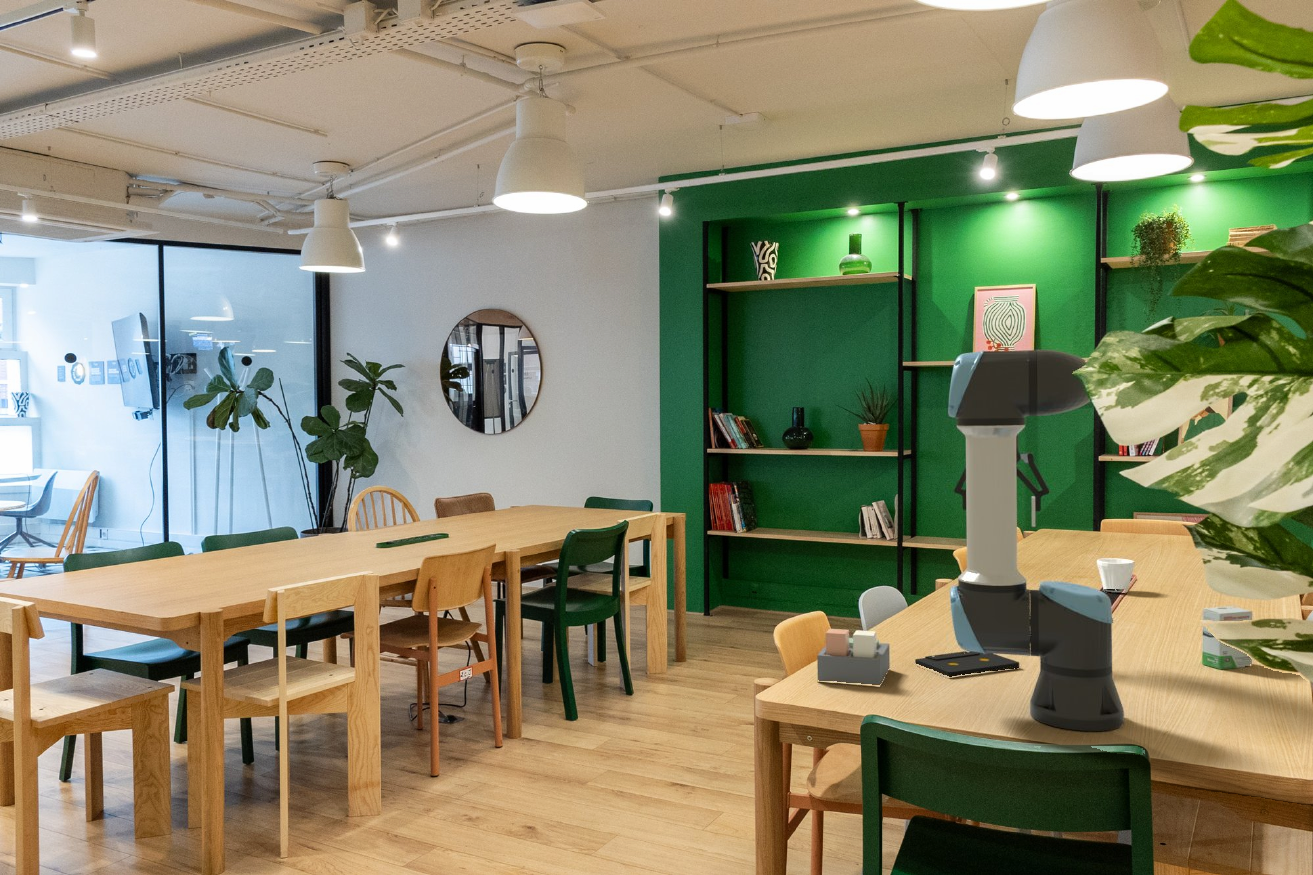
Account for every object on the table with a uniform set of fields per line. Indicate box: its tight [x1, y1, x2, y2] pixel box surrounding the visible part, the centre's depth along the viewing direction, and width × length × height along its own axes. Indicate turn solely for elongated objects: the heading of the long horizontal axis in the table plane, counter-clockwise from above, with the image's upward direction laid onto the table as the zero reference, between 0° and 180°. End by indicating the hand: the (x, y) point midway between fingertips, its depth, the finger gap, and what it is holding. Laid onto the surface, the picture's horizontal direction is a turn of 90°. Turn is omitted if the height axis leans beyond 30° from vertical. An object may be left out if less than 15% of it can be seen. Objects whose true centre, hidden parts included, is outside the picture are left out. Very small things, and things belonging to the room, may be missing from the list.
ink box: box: [1201, 605, 1253, 670], centre depth 204 cm, size 9×5×12 cm, turn 105°
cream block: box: [852, 629, 877, 658], centre depth 197 cm, size 4×4×6 cm
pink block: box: [825, 628, 850, 656], centre depth 199 cm, size 4×4×6 cm
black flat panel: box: [914, 650, 1020, 677], centre depth 207 cm, size 18×12×2 cm, turn 111°
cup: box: [1096, 557, 1135, 594], centre depth 286 cm, size 10×10×9 cm
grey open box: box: [816, 637, 891, 685], centre depth 201 cm, size 14×12×6 cm
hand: (1001, 525), depth 222 cm, fingers open, 13 cm apart
